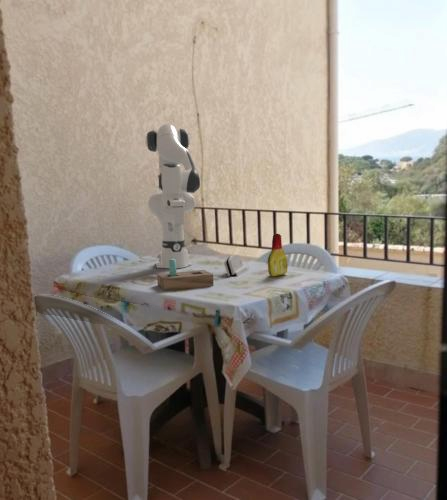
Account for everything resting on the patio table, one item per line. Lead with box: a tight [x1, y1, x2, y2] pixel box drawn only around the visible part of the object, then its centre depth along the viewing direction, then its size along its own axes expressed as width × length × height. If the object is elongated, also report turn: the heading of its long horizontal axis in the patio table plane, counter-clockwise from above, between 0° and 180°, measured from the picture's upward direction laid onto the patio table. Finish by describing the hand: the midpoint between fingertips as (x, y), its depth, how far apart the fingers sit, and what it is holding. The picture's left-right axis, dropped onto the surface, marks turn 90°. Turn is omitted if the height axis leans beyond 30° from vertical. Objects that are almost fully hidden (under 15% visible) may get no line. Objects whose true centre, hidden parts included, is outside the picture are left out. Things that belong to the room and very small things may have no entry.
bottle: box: [267, 233, 289, 277], centre depth 243 cm, size 12×6×20 cm, turn 131°
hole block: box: [156, 269, 214, 292], centre depth 227 cm, size 12×22×5 cm, turn 112°
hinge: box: [223, 254, 248, 277], centre depth 253 cm, size 17×5×10 cm, turn 161°
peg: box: [168, 259, 177, 277], centre depth 224 cm, size 3×3×12 cm
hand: (173, 232), depth 224 cm, fingers open, 8 cm apart
